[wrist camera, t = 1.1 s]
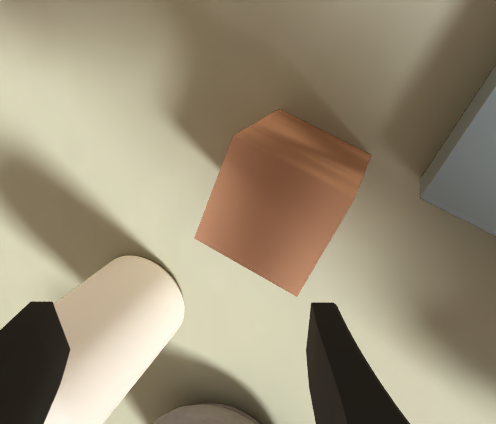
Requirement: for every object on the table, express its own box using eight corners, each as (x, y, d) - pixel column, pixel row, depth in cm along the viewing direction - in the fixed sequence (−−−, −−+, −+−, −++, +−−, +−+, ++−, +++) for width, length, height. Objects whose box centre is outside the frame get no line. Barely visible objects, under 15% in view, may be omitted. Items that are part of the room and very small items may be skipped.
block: (371, 154, 20) (354, 198, 15) (325, 235, 23) (297, 296, 18) (279, 108, 21) (233, 135, 16) (244, 191, 23) (194, 238, 18)
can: (106, 239, 28) (-73, 360, 18) (192, 271, 27) (50, 423, 16) (105, 314, 31) (-50, 455, 21) (183, 347, 30) (57, 517, 19)
